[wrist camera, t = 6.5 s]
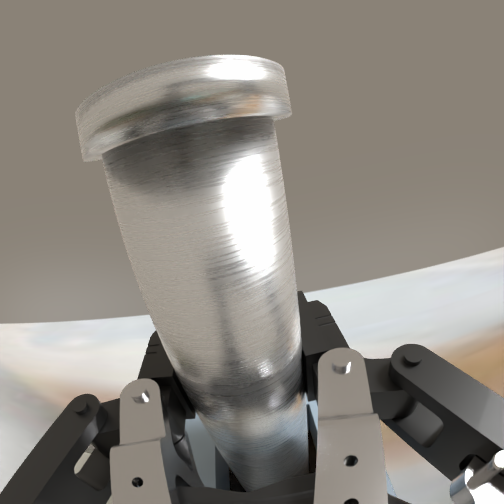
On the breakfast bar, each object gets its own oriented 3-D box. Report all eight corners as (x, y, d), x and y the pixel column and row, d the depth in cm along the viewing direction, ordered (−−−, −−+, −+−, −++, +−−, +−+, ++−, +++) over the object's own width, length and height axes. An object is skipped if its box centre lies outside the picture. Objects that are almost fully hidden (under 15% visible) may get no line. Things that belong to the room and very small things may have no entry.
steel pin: (307, 433, 14) (268, 92, 7) (324, 497, 10) (310, 42, 3) (231, 446, 14) (121, 125, 7) (234, 511, 10) (31, 118, 3)
